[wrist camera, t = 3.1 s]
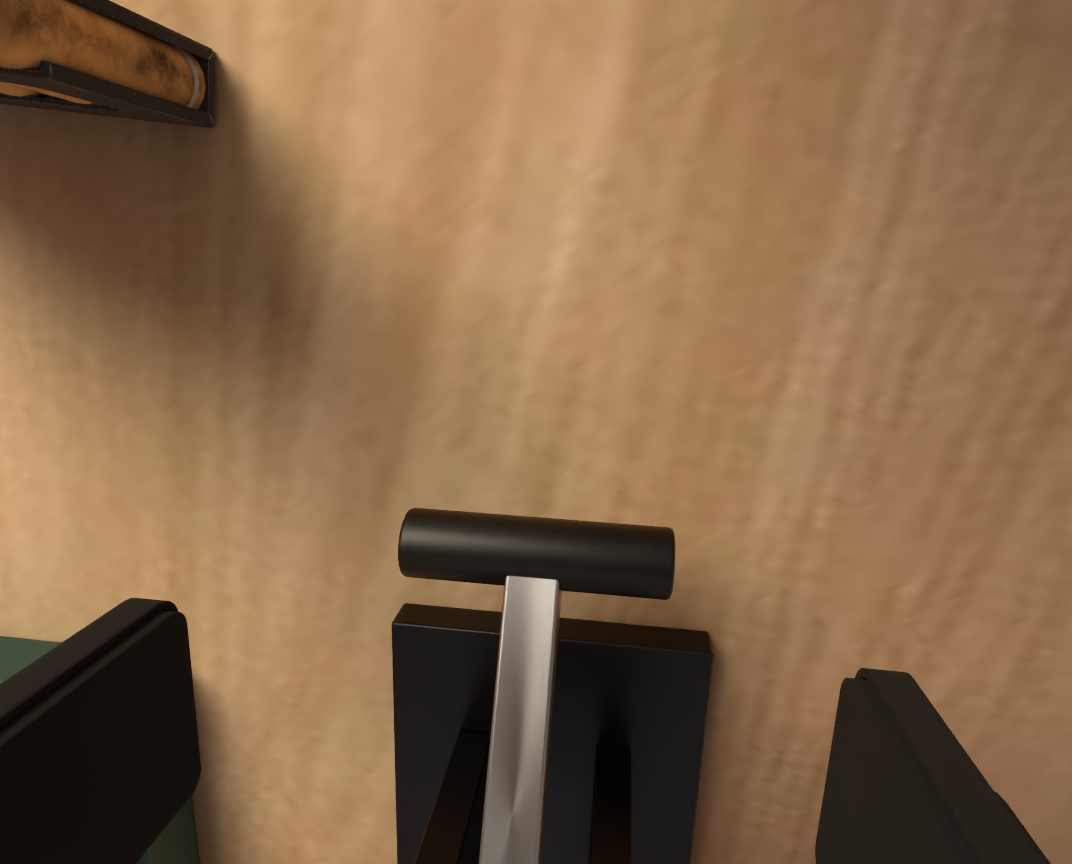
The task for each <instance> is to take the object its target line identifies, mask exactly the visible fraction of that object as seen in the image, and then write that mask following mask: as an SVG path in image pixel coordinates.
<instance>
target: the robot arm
mask: <svg viewBox="0 0 1072 864" xmlns="http://www.w3.org/2000/svg"><path fill="white" fill-rule="evenodd" d="M200 772H201V763H200V752H199V742H198V732H197V721H196V711H195V700H194V690H193V680H192V669H191V659H190V649H189V638H188V628H187V621H186V618H185V616H184V614H182V613H180V612H178V609H177V607H176V606H175V604H173V603H172V602H170V601H161V600H151V599H141V598H130V599H128V600H126V601H124V602H122V603H121V604H119V605H118V606H116V607H115V608H113V609H112V610H110V611H109V612H107V613H106V614H104V615H103V616H101V617H100V618H98V619H97V620H95V621H94V622H92V623H91V624H89V625H88V626H86V627H85V628H83V629H82V630H80V631H79V632H77V633H76V634H74V635H73V636H71V637H70V638H68V639H67V640H65V641H64V642H62V643H61V644H59V645H58V646H56V647H55V648H53V649H52V650H50V651H49V652H47V653H46V654H44V655H43V656H41V657H40V658H38V659H37V660H35V661H34V662H32V663H31V664H29V665H28V666H26V667H25V668H23V669H22V670H20V671H19V672H17V673H16V674H14V675H13V676H11V677H10V678H8V679H7V680H5V681H4V682H2V683H1V684H0V864H136V863H137V862H138V861H139V859H140V858H141V857H142V856H143V854H144V853H145V852H146V851H147V850H148V848H149V847H150V846H151V845H152V843H153V842H154V841H155V840H156V838H157V837H158V836H159V835H160V834H161V832H162V831H163V830H164V829H165V827H166V826H167V825H168V824H169V823H170V821H171V820H172V819H173V818H174V816H175V815H176V814H177V813H178V812H179V810H180V809H181V808H182V807H183V805H184V804H185V803H186V802H187V801H188V799H189V798H190V797H191V795H192V794H193V792H194V791H195V789H196V786H197V784H198V781H199V778H200ZM815 856H816V864H1050V862H1049V861H1048V860H1047V858H1046V857H1045V855H1044V854H1043V853H1042V851H1041V850H1040V849H1039V847H1038V846H1037V844H1036V843H1035V842H1034V840H1033V839H1032V837H1031V836H1030V835H1029V833H1028V832H1027V830H1026V829H1025V828H1024V826H1023V825H1022V824H1021V822H1020V821H1019V819H1018V818H1017V817H1016V815H1015V814H1014V812H1013V811H1012V810H1011V808H1010V807H1009V806H1008V804H1007V803H1006V802H1005V801H1004V800H1003V799H1002V797H1001V796H1000V795H999V794H998V793H996V792H994V791H993V789H992V788H991V787H990V785H989V784H988V782H987V781H986V780H985V778H984V777H983V775H982V774H981V773H980V771H979V770H978V768H977V767H976V766H975V764H974V763H973V761H972V760H971V759H970V757H969V756H968V754H967V753H966V751H965V750H964V749H963V747H962V746H961V744H960V743H959V742H958V740H957V739H956V737H955V736H954V735H953V733H952V732H951V730H950V729H949V728H948V726H947V725H946V723H945V722H944V721H943V719H942V718H941V716H940V715H939V714H938V712H937V711H936V709H935V708H934V707H933V705H932V704H931V702H930V701H929V700H928V698H927V697H926V695H925V694H924V693H923V691H922V690H921V688H920V687H919V686H918V684H917V683H916V681H915V680H914V678H913V677H912V676H911V675H910V674H909V673H906V672H898V671H887V670H877V669H866V668H861V669H860V670H859V671H858V672H857V674H856V677H855V679H853V678H845V679H844V680H843V682H842V685H841V689H840V695H839V702H838V708H837V714H836V720H835V727H834V733H833V739H832V745H831V752H830V758H829V764H828V770H827V776H826V783H825V789H824V795H823V801H822V808H821V814H820V820H819V826H818V833H817V839H816V847H815Z"/></svg>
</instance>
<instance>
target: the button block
mask: <svg viewBox="0 0 1072 864" xmlns="http://www.w3.org/2000/svg"><path fill="white" fill-rule="evenodd" d="M59 644H61V643H59V642H49V641H40V640H30V639H21V638H11V637H2V636H0V684H1V683H2V682H4V681H5V680H7V679H8V678H10V677H11V676H13V675H14V674H16V673H17V672H19V671H20V670H22V669H23V668H25V667H26V666H28V665H29V664H31V663H32V662H34V661H35V660H37V659H38V658H40V657H41V656H43V655H44V654H46V653H47V652H49V651H50V650H52V649H53V648H55V647H56V646H58V645H59ZM136 864H199V859H198V851H197V842H196V834H195V825H194V816H193V808H192V799H191V797H190V798H189V799H188V801H187V802H186V803H185V804H184V805H183V807H182V808H181V809H180V810H179V812H178V813H177V814H176V815H175V816H174V818H173V819H172V820H171V821H170V823H169V824H168V825H167V826H166V827H165V829H164V830H163V831H162V832H161V834H160V835H159V836H158V837H157V838H156V840H155V841H154V842H153V843H152V845H151V846H150V847H149V848H148V850H147V851H146V852H145V853H144V854H143V856H142V857H141V858H140V859H139V861H138V862H137V863H136Z"/></svg>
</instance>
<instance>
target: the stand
mask: <svg viewBox="0 0 1072 864" xmlns="http://www.w3.org/2000/svg"><path fill="white" fill-rule="evenodd" d="M501 617H502V612H493V611H482V610H471V609H461V608H450V607H439V606H429V605H418V604H407V603H406V604H404V605H403V606H402V608H401V609H400V611H399V613H398V614H397V616H396V617H395V619H394V621H393V622H392V653H393V696H394V738H395V780H396V822H397V864H479V855H480V844H481V833H482V823H483V812H484V801H485V790H486V779H487V769H488V758H489V747H490V736H491V725H492V715H493V704H494V693H495V682H496V671H497V661H498V650H499V639H500V628H501ZM712 664H713V650H712V646H711V642H710V637H709V634H708V632H706V631H697V630H686V629H675V628H665V627H654V626H643V625H632V624H622V623H611V622H600V621H589V620H579V619H568V618H560V621H559V634H558V647H557V661H556V674H555V687H554V700H553V714H552V727H551V740H550V754H549V767H548V780H547V794H546V807H545V820H544V834H543V847H542V860H541V864H690V859H691V850H692V841H693V832H694V824H695V815H696V806H697V797H698V788H699V779H700V770H701V762H702V753H703V744H704V735H705V726H706V717H707V708H708V700H709V691H710V682H711V673H712Z"/></svg>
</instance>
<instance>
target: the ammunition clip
mask: <svg viewBox="0 0 1072 864" xmlns="http://www.w3.org/2000/svg"><path fill="white" fill-rule="evenodd" d="M0 104H8V105H17V106H25V107H34V108H42V109H51V110H60V111H68V112H77V113H86V114H94V115H103V116H111V117H120V118H129V119H137V120H146V121H155V122H163V123H172V124H180V125H189V126H198V127H206V128H213V125H214V52H213V50H212V49H211V48H209V47H207V46H204V45H202V44H200V43H198V42H196V41H194V40H192V39H190V38H187V37H185V36H183V35H181V34H179V33H177V32H175V31H173V30H171V29H168V28H166V27H164V26H162V25H160V24H158V23H156V22H154V21H152V20H149V19H147V18H145V17H143V16H141V15H139V14H137V13H135V12H132V11H130V10H128V9H126V8H124V7H122V6H120V5H118V4H116V3H113V2H111V1H109V0H0Z"/></svg>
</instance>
